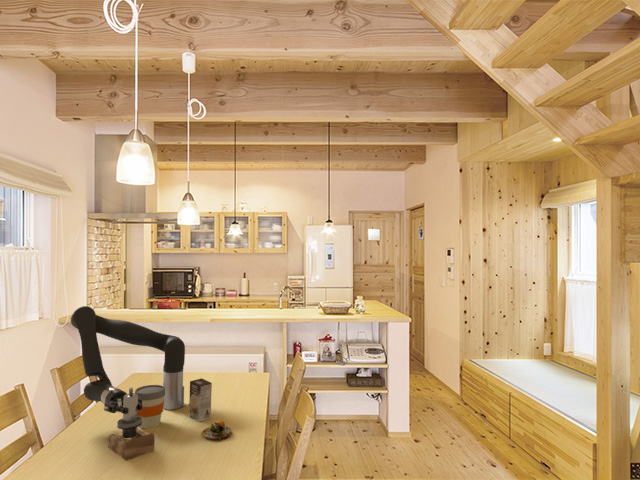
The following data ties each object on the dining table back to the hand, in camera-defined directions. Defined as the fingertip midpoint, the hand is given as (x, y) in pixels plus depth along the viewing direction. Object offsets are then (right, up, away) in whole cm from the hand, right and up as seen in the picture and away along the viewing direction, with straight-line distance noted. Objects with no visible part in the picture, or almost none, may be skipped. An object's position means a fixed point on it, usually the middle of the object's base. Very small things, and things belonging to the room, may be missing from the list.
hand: (133, 409), depth 160 cm
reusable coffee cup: (-4, -16, +24) cm, 29 cm away
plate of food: (+28, -17, +14) cm, 35 cm away
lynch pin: (-2, -10, +1) cm, 11 cm away
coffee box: (+16, -17, +32) cm, 40 cm away
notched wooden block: (-2, -15, +1) cm, 15 cm away
